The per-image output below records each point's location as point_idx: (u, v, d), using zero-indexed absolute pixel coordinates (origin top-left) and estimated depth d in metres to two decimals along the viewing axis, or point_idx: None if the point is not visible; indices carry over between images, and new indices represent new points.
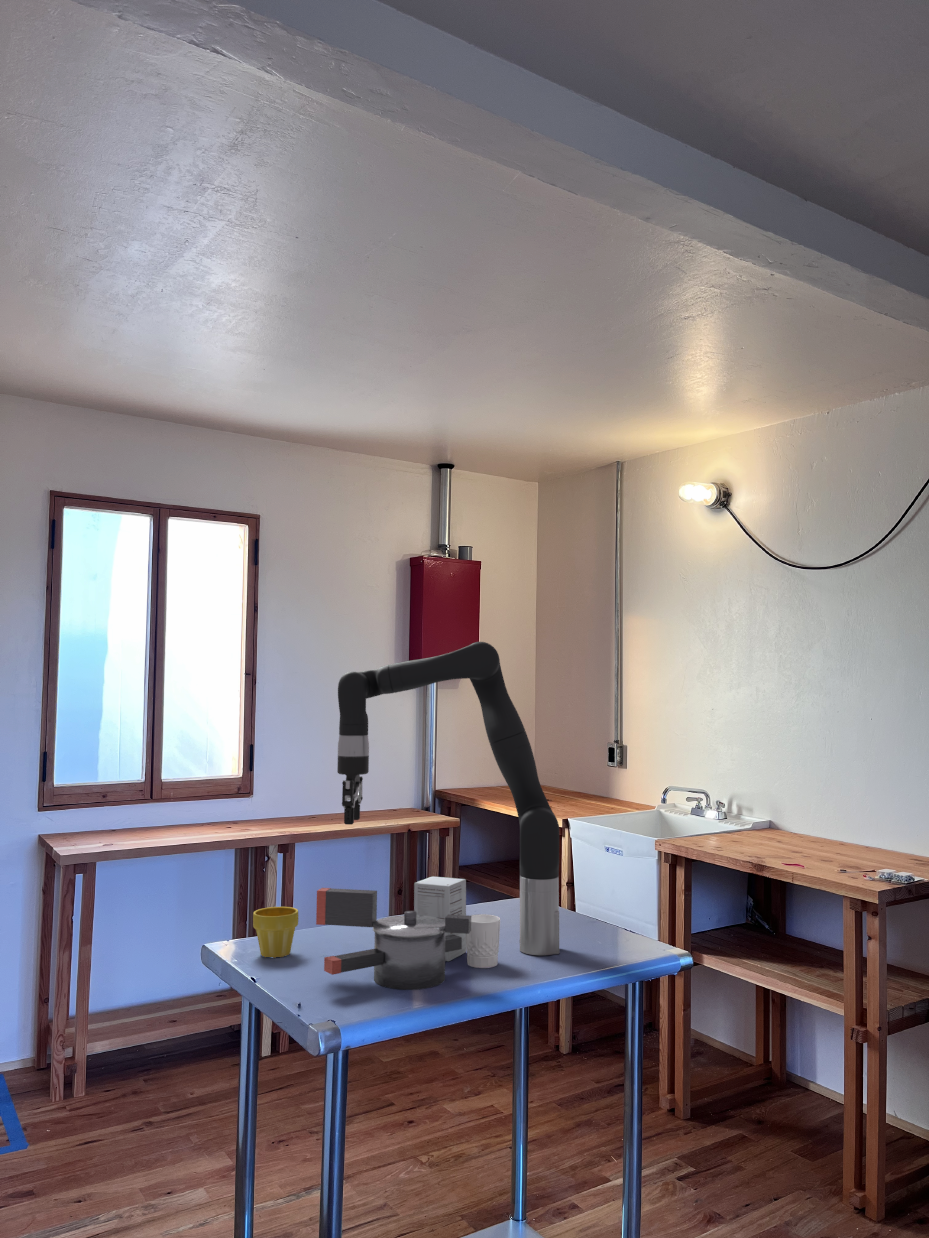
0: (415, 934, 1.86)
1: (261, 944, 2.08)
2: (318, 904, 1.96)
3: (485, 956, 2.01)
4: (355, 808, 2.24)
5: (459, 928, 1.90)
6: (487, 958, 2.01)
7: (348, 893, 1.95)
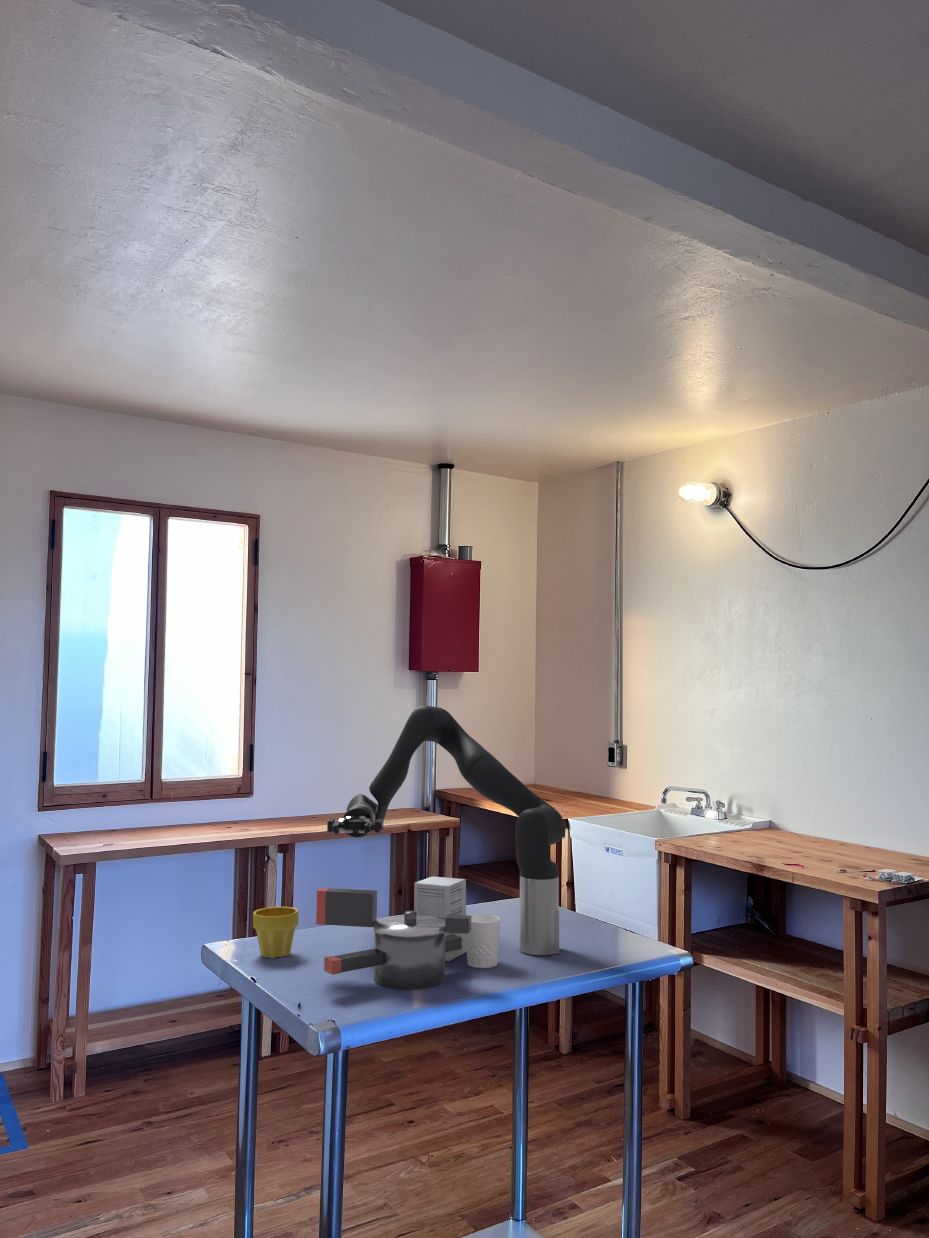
0: (415, 934, 1.86)
1: (261, 944, 2.08)
2: (318, 904, 1.96)
3: (485, 956, 2.01)
4: None
5: (459, 928, 1.90)
6: (487, 958, 2.01)
7: (348, 893, 1.95)
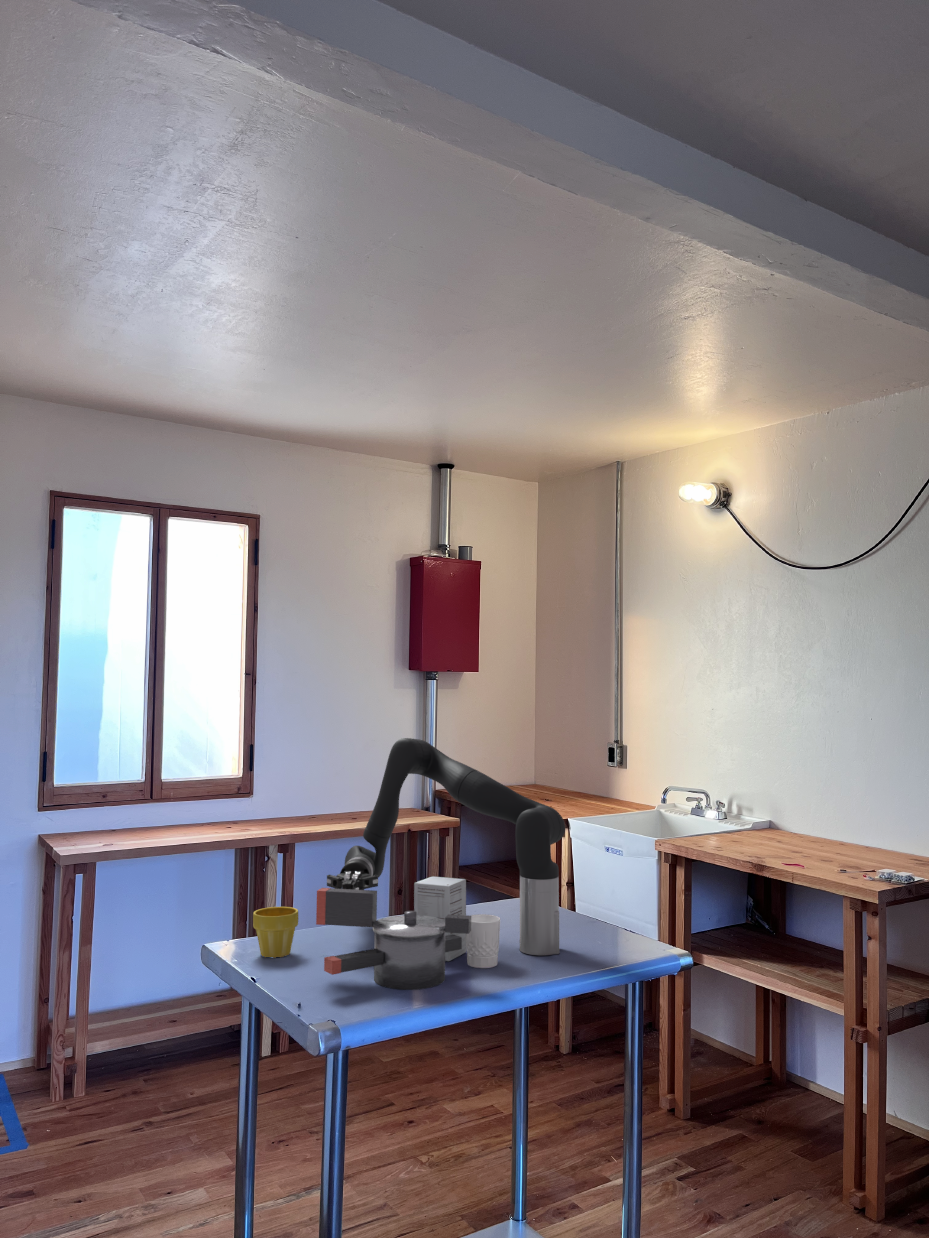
0: (415, 934, 1.86)
1: (261, 944, 2.08)
2: (318, 904, 1.96)
3: (485, 956, 2.01)
4: None
5: (459, 928, 1.90)
6: (487, 958, 2.01)
7: (348, 893, 1.95)
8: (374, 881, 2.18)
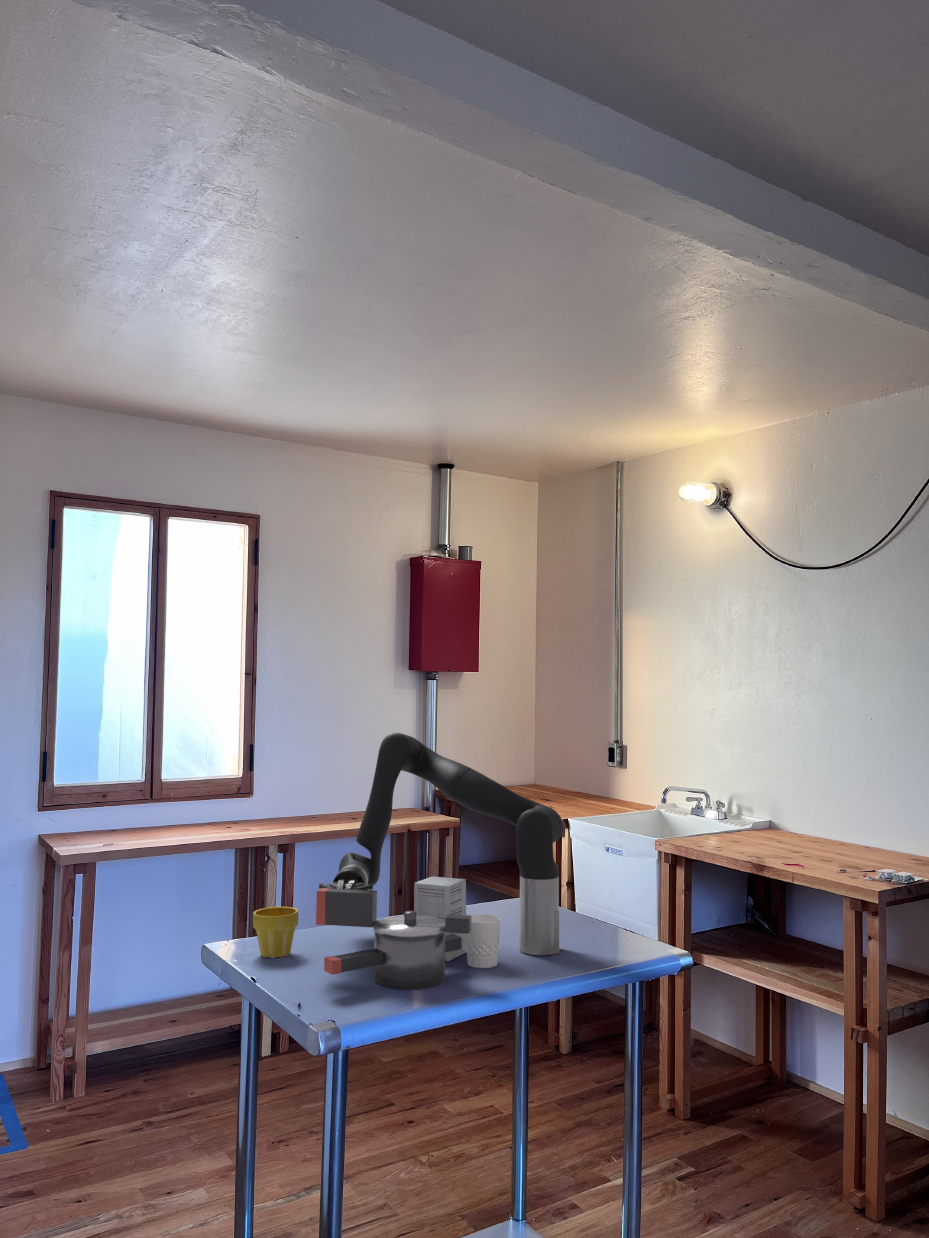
0: (415, 934, 1.86)
1: (261, 944, 2.08)
2: (318, 904, 1.96)
3: (485, 956, 2.01)
4: None
5: (459, 928, 1.90)
6: (487, 958, 2.01)
7: (348, 893, 1.95)
8: None
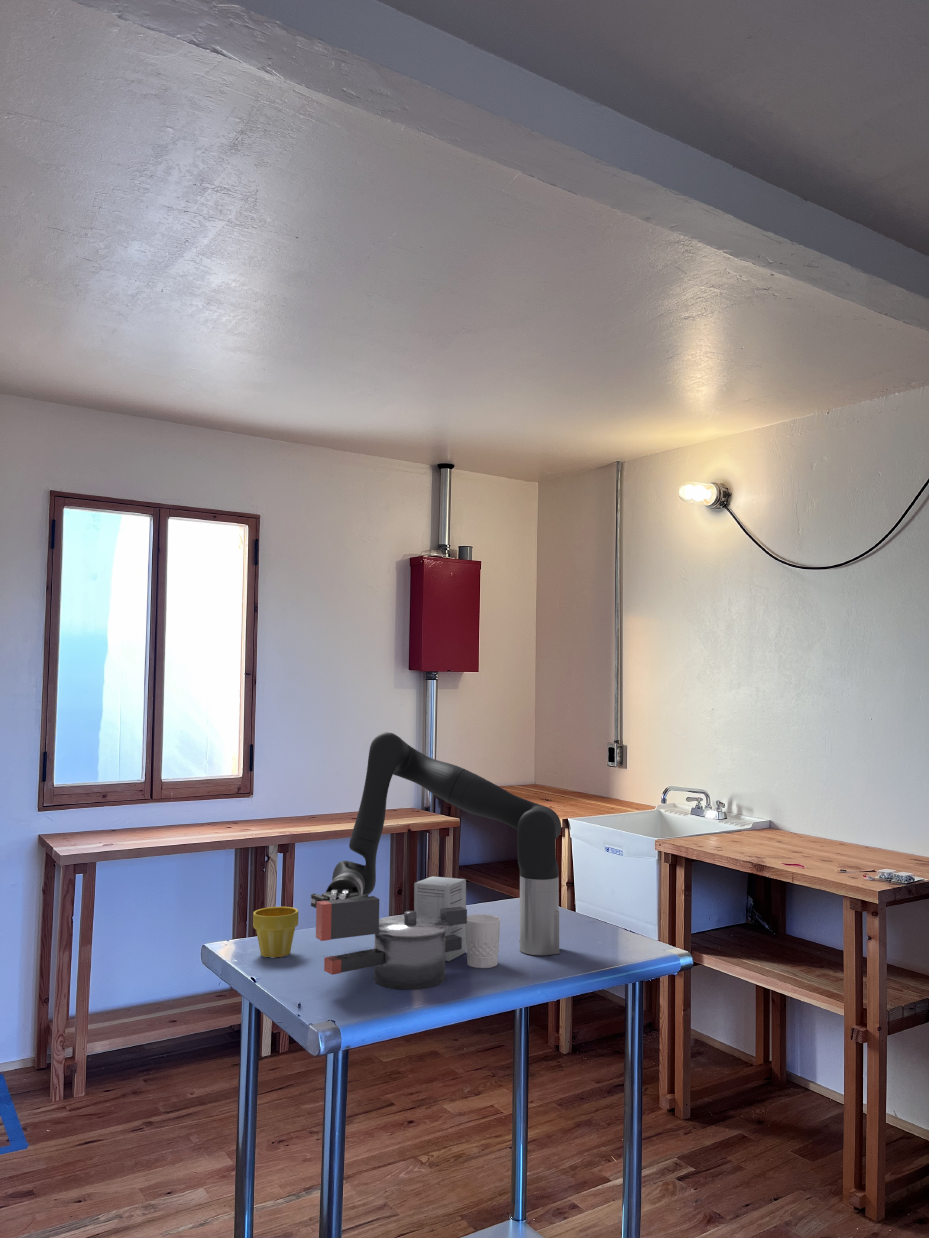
0: (438, 931, 1.89)
1: (261, 944, 2.08)
2: (323, 919, 1.83)
3: (485, 956, 2.01)
4: None
5: (459, 920, 1.98)
6: (487, 958, 2.01)
7: (355, 902, 1.87)
8: None
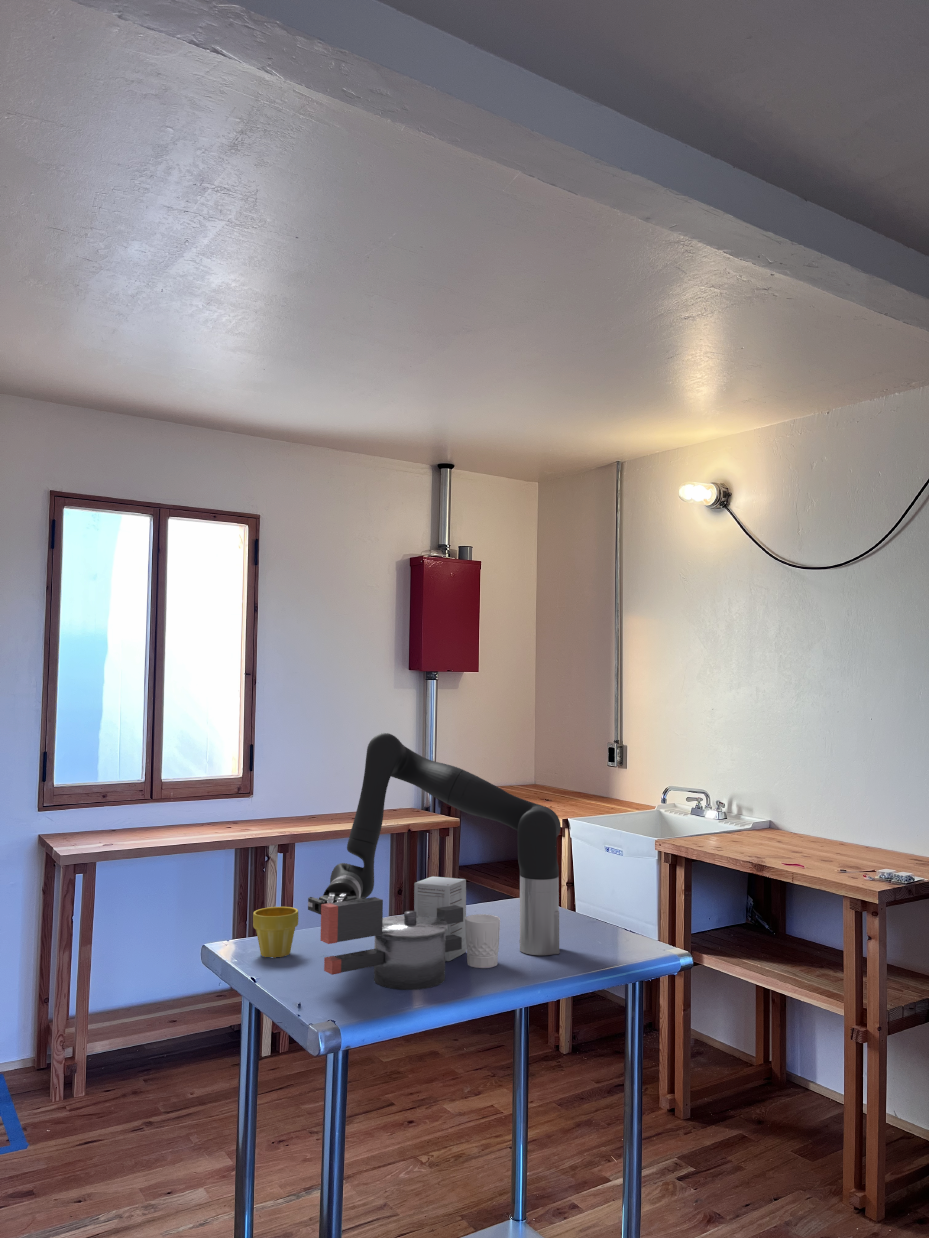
0: (441, 930, 1.90)
1: (261, 944, 2.08)
2: (330, 921, 1.81)
3: (485, 956, 2.01)
4: None
5: (456, 918, 1.99)
6: (487, 958, 2.01)
7: (360, 904, 1.85)
8: None
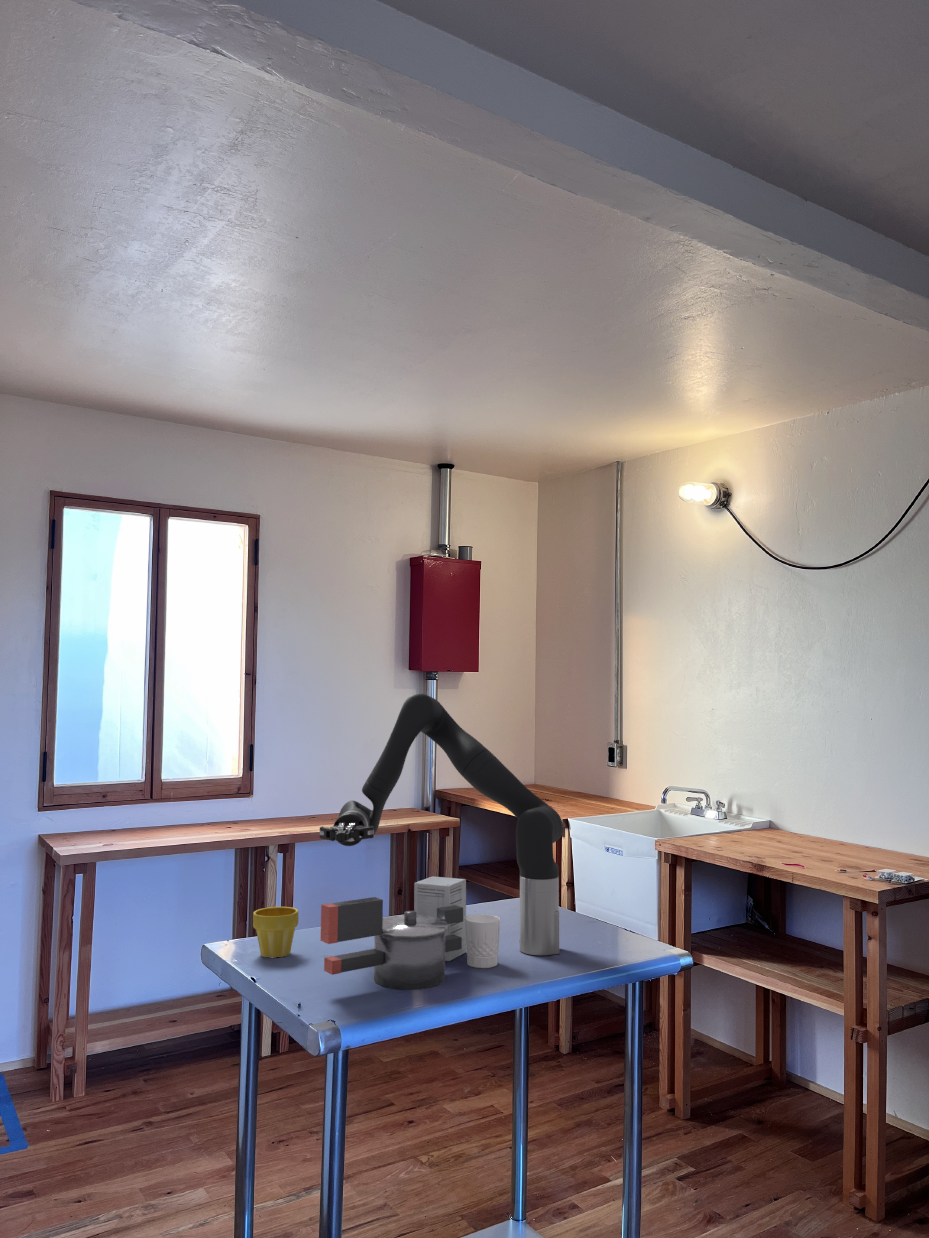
0: (441, 930, 1.90)
1: (261, 944, 2.08)
2: (330, 921, 1.81)
3: (485, 956, 2.01)
4: None
5: (456, 918, 1.99)
6: (487, 958, 2.01)
7: (360, 904, 1.85)
8: (369, 832, 2.07)
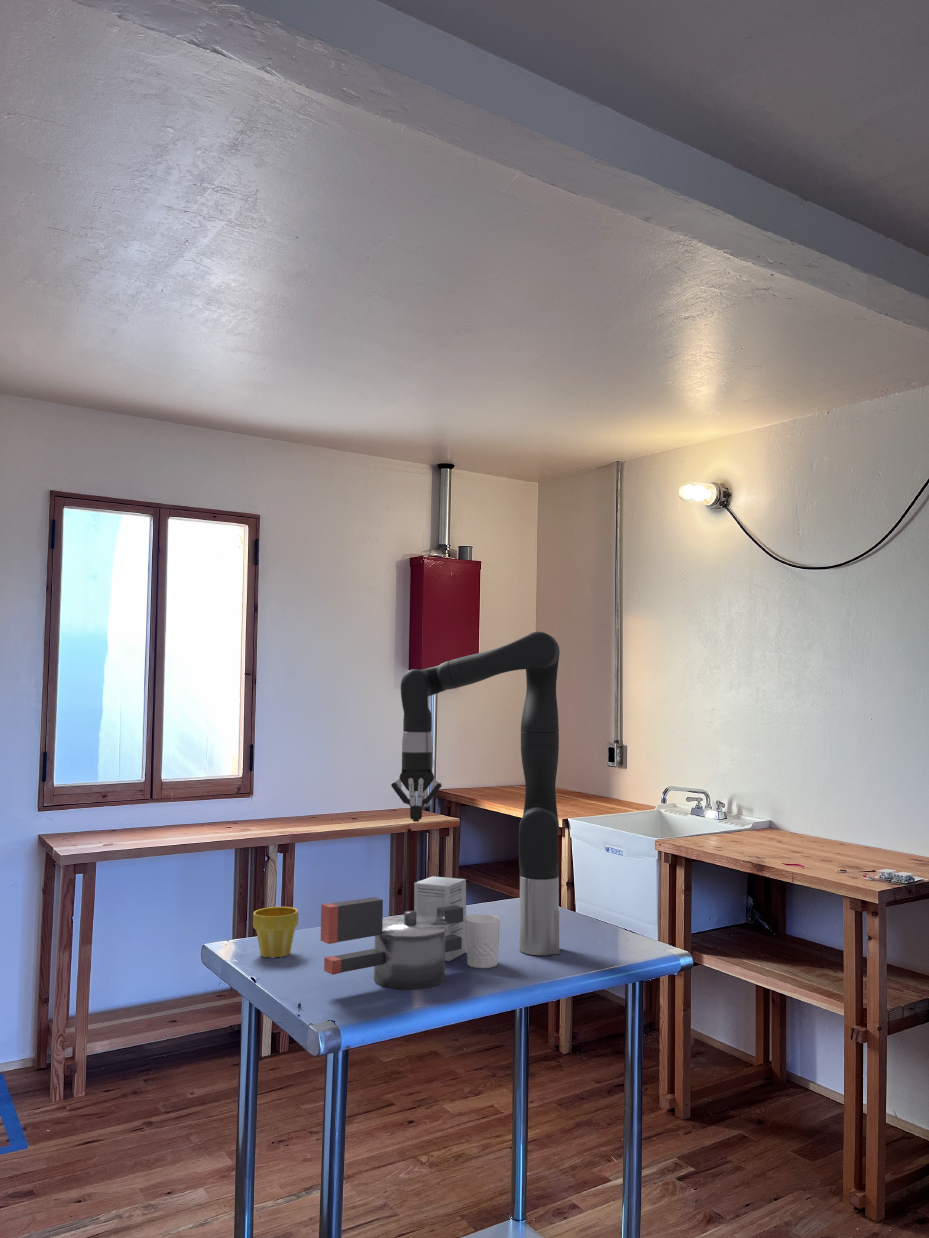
0: (441, 930, 1.90)
1: (261, 944, 2.08)
2: (330, 921, 1.81)
3: (485, 956, 2.01)
4: None
5: (456, 918, 1.99)
6: (487, 958, 2.01)
7: (360, 904, 1.85)
8: None
